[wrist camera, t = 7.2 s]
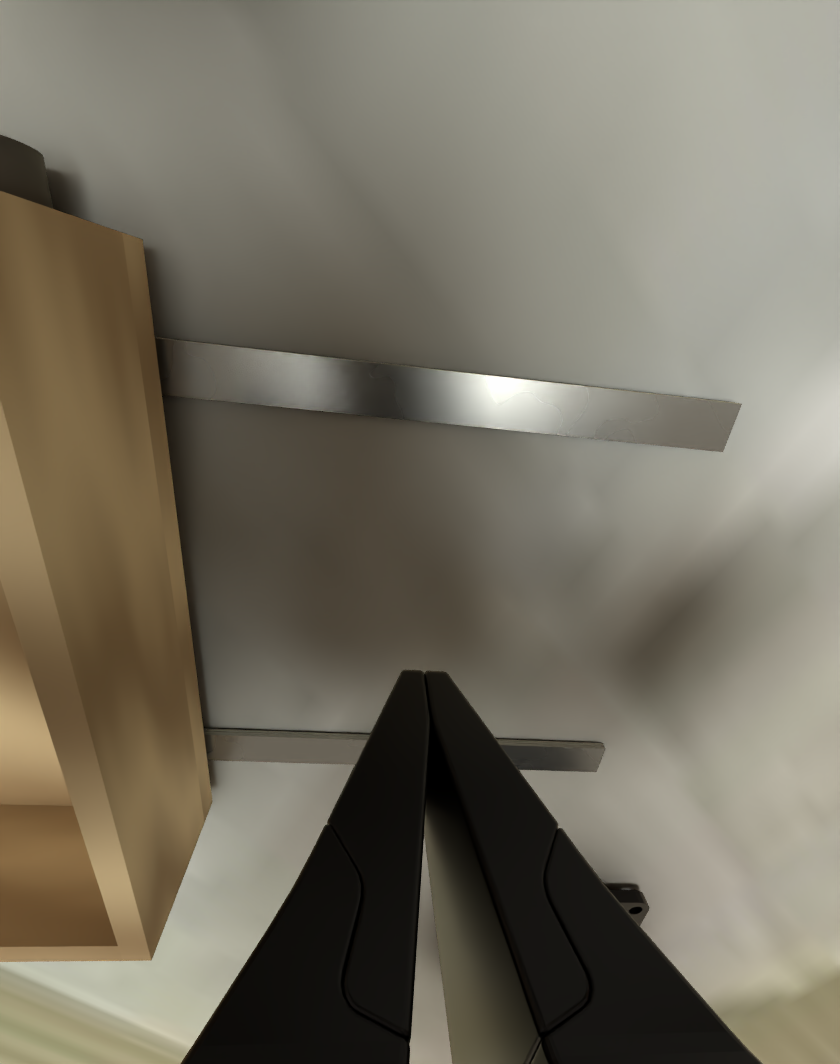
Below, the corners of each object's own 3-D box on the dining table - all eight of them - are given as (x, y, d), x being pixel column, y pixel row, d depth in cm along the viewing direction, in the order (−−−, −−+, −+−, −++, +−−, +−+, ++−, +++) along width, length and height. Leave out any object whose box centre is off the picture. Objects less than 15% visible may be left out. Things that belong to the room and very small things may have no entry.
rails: (589, 776, 14) (625, 859, 12) (-500, 745, 11) (-711, 843, 9) (745, 377, 9) (853, 393, 7) (-1107, 157, 6) (-1870, 71, 4)
